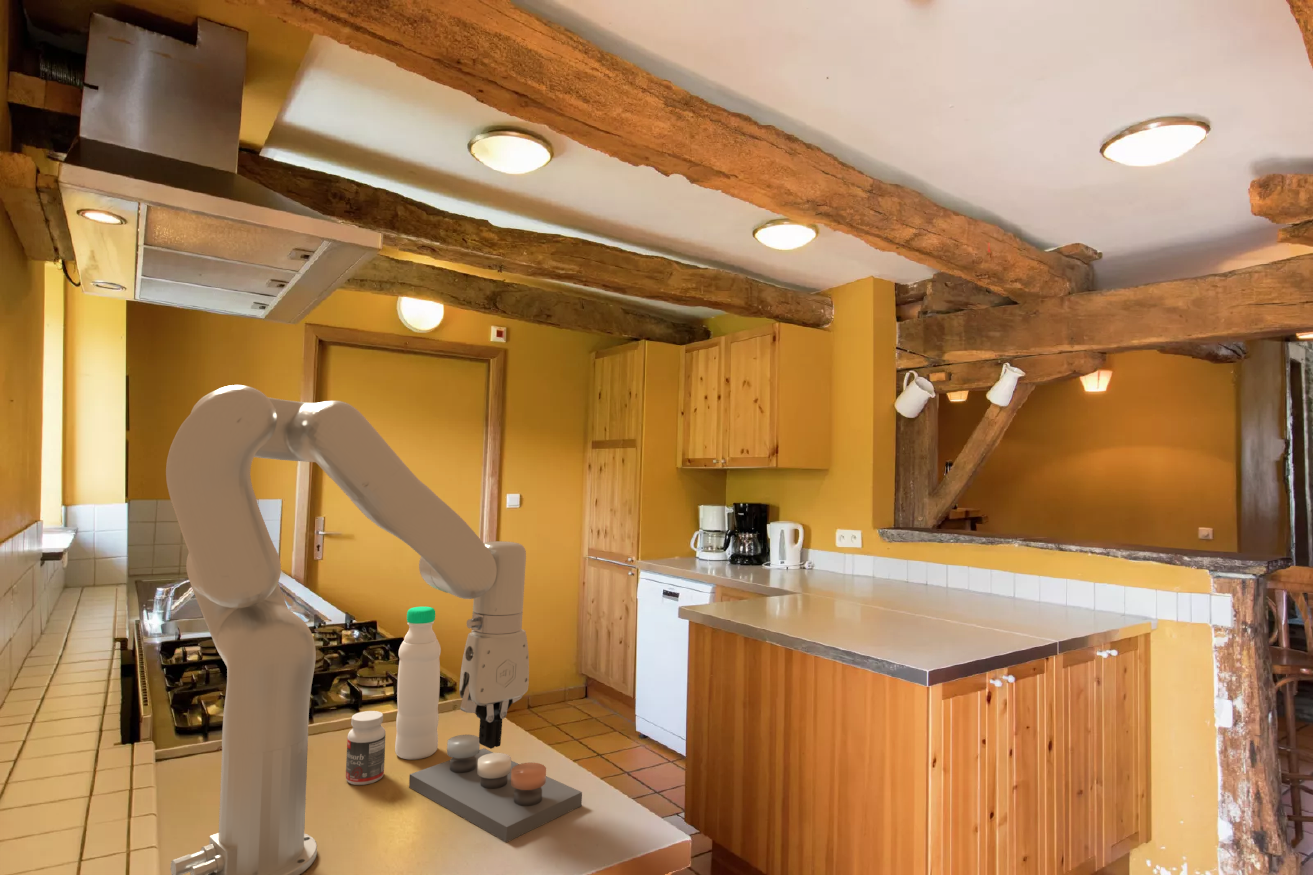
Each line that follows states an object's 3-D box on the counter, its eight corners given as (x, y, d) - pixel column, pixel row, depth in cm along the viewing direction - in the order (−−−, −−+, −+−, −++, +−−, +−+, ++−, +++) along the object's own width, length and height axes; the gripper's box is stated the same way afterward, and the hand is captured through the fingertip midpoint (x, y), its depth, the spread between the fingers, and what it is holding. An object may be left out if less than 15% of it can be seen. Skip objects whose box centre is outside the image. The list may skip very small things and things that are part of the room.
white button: (490, 781, 106) (491, 769, 106) (470, 771, 109) (471, 759, 109) (517, 771, 110) (518, 759, 110) (497, 761, 113) (497, 750, 113)
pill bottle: (337, 781, 114) (339, 717, 114) (367, 767, 119) (369, 707, 119) (362, 789, 111) (365, 724, 111) (391, 775, 116) (394, 713, 116)
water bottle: (424, 763, 121) (429, 613, 122) (386, 758, 122) (391, 610, 123) (444, 747, 128) (449, 605, 129) (408, 743, 129) (413, 603, 130)
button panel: (506, 842, 97) (506, 817, 97) (409, 787, 112) (409, 765, 112) (581, 805, 107) (582, 783, 107) (483, 760, 123) (484, 740, 123)
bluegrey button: (459, 761, 111) (459, 749, 111) (440, 752, 115) (441, 740, 115) (485, 751, 115) (486, 740, 115) (467, 743, 118) (467, 732, 118)
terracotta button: (526, 793, 101) (526, 780, 101) (503, 782, 104) (504, 770, 104) (552, 781, 105) (553, 769, 105) (530, 771, 108) (530, 759, 108)
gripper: (471, 633, 102) (462, 765, 101) (550, 621, 114) (543, 739, 113) (440, 624, 107) (432, 750, 106) (519, 613, 118) (513, 727, 117)
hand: (489, 744), depth 109 cm, fingers closed
